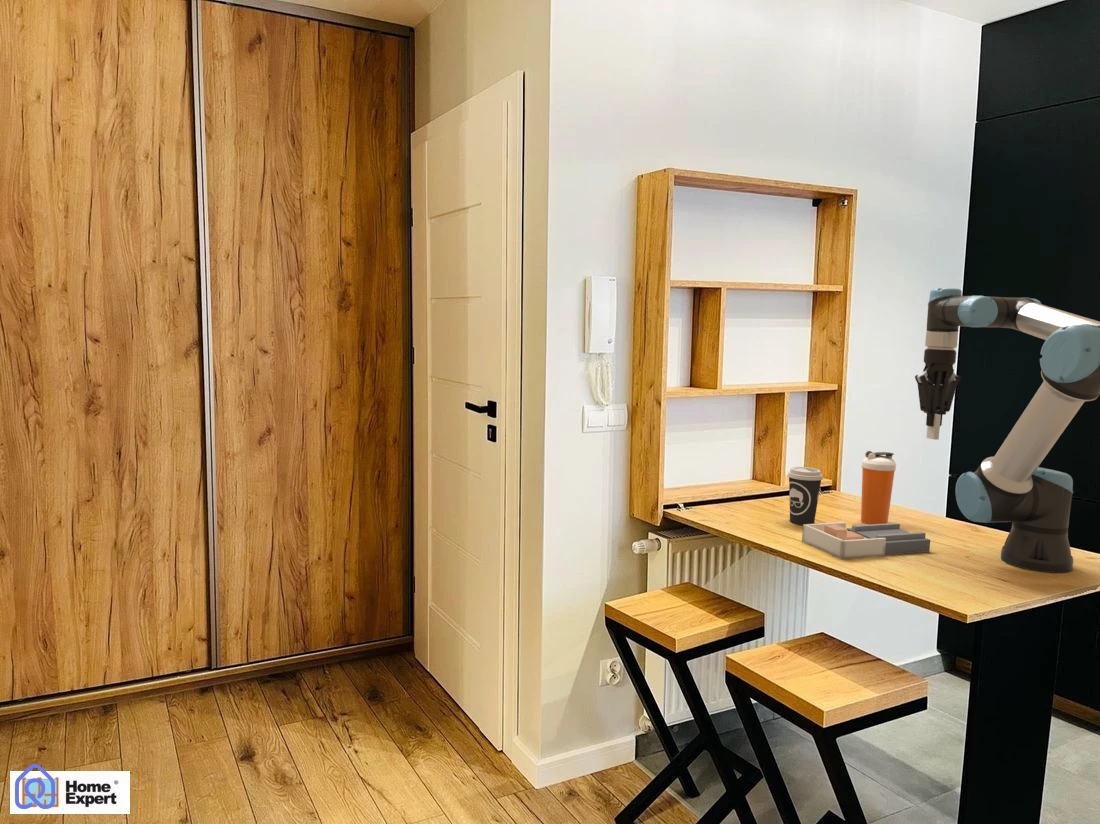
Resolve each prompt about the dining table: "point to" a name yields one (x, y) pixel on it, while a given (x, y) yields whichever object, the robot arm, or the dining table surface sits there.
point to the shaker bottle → (877, 487)
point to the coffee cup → (804, 494)
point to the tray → (842, 543)
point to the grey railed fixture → (894, 537)
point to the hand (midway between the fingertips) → (932, 438)
